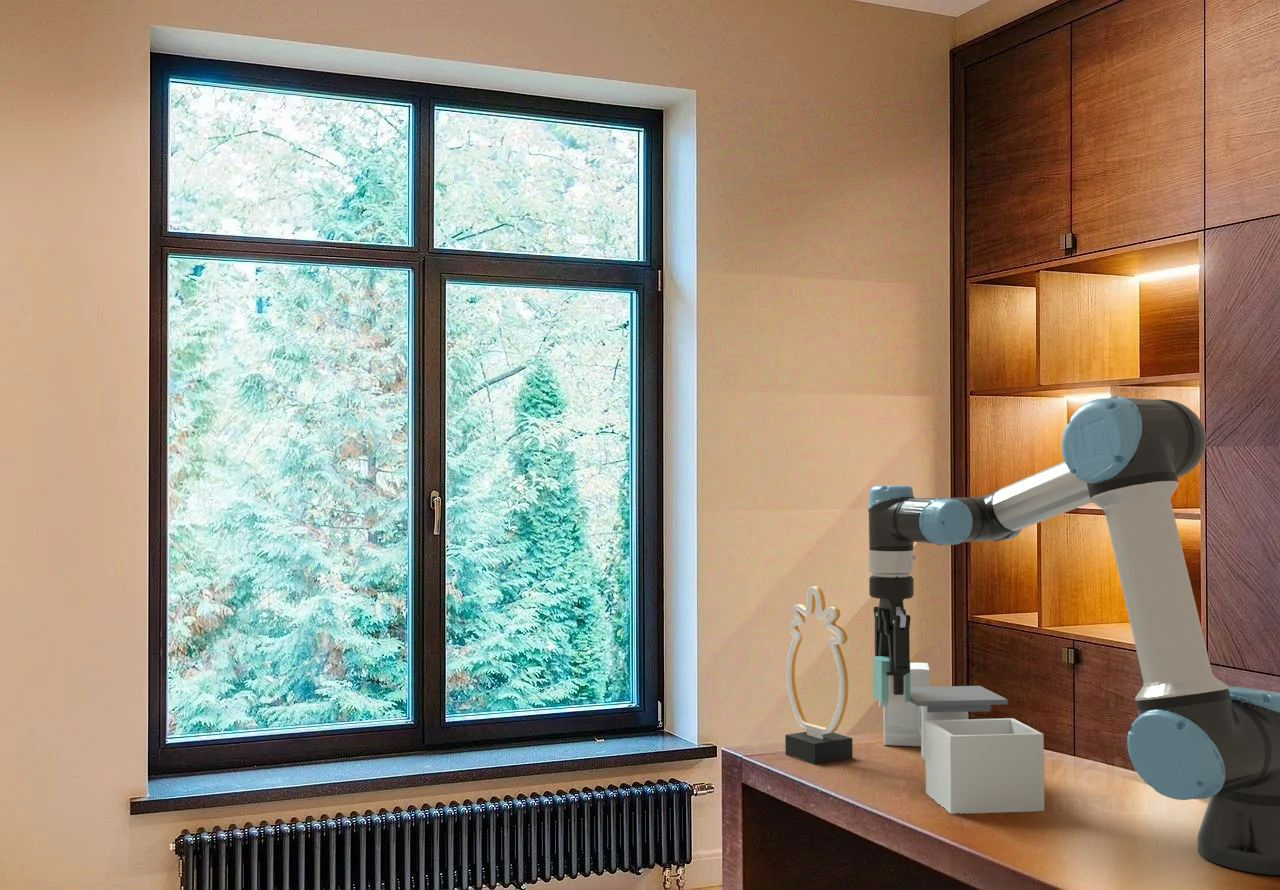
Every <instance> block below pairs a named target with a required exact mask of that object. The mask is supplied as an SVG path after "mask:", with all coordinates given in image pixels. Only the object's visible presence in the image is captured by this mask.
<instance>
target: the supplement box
mask: <svg viewBox="0 0 1280 890" xmlns="http://www.w3.org/2000/svg"><path fill="white" fill-rule="evenodd" d="M910 687H931V670H930V666H929V663H928V662H910ZM918 709H919V706H916V705H915V704H913V703H912V702H905V714H889V711H888V707H883V744H884V746H896V747H897V746H899V747H903V746H904V747H920V748H921V735H920V732H919V729H918Z"/></svg>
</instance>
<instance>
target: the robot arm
mask: <svg viewBox="0 0 1280 890" xmlns="http://www.w3.org/2000/svg"><path fill="white" fill-rule="evenodd" d="M1206 448H1207V434H1206V429H1205V426H1204V424H1203V423H1202V421H1201V419H1200V418H1199V416H1198V415H1197V414H1196V413H1195V412H1194V411H1193V410H1192V409H1191V408H1189V407H1188V406H1186V405H1184V404H1182V403H1181V402H1177V401H1175V400H1171V399H1157V398H1155V399H1151V398H1150V399H1149V398H1132V397H1131V398H1129V397H1128V398H1127V397H1124V396H1112V397H1109V398H1106V397H1105V398H1098V399H1093V400H1091V401H1088V402H1086V403H1084V404H1083V405H1081V406H1080V407H1079V408H1078V409H1077V410H1075V411H1074V413H1073V414H1072V415H1071V416H1070V419H1069V422H1068V423H1067V424H1066V425H1065V428H1064V431H1063V435H1062V440H1061V453H1062V457H1063V458H1062V459H1063V460H1064V461H1062V462H1059V463H1058V464H1055V465H1052V466H1051V467H1048V468H1046V469H1044V470H1041V471H1039V472H1037V473H1034V474H1031V475H1029V476H1028V477H1025V478H1023V479H1020V480H1018V481H1016V482H1013V483H1011V484H1009V485H1006V486H1004V487H1002V488H999V489H998V490H995V491H994V492H991V493H988V494H986V495H983V496H976V497H975V496H974V497H972V496H969V497H968V496H967V497H937V498H935V497H932V498H931V497H915V496H914V489H913V487H912V486H911V485H910V486H909V485H897V484H896V485H894V484H893V485H889V484H888V485H874V486H873V487H871V489H870V490H869V498H868V501H869V502H868V507H867V512H868V538H869V539H868V543H869V545H868V547H869V548H868V571H869V573H871V574H872V575H870V576H869V579H868V582H869V583H868V584H869V585H868V590H869V591H868V595H869V596H870V597H871V598H874V599H879V602H878V603H879V604H878V606H874V607H873V616H874V656H889V660H890V672H886V674H887V676H888V702H881V701H879V700H878V707H879V708H884V707H888V711H889V714H905V675H906V673H909V672H910V663H911V660H910V659H911V658H910V654H911V653H910V646H911V644H910V627H911V616H910V614H907V613H906V612H907V610H906V609H905V605H904V601H905V599H906V600H908V599H912V598H913V597H914V595H915V593H914V591H915V590H914V582H915V581H914V580H915V579H914V577H913V576H912V575H910V574H912V573H913V572H914V561H916V559H917V556H916V555H915V554H914V543H915V542H916V543H921V544H922V543H925V544H934V545H937V546H951V545H952V546H954V545H959V544H961V543H970V542H972V543H973V542H1001V541H1002V542H1003V541H1005V540H1011V539H1014V538H1015V537H1017V536H1018V535H1019V534H1020V533H1021V531H1022V530H1023V529H1026V528H1027V527H1028V528H1029V527H1030V526H1033V525H1036V524H1038V523H1041V522H1044V521H1047V520H1050V519H1052V518H1054V517H1057V516H1060V515H1063V514H1065V513H1068V512H1069V511H1072V510H1075V509H1079V508H1081V507H1084V506H1086V505H1089V504H1094V505H1096V506H1097V507H1099V508H1100V509H1102V511H1104V514H1105V518H1106V522H1107V526H1108V527H1107V528H1108V531H1109V536H1110V540H1111V544H1112V549H1113V553H1114V557H1115V563H1116V567H1117V570H1118V575H1119V580H1120V584H1121V587H1122V588H1121V589H1122V592H1123V593H1122V594H1123V597H1124V602H1125V606H1126V610H1127V614H1128V620H1129V623H1130V628H1131V631H1132V636H1133V640H1134V645H1135V648H1136V654H1137V655H1136V656H1137V658H1138V662H1139V667H1140V672H1141V677H1142V680H1143V685H1142V687H1141V688H1140V690H1139V691H1138V693H1137V695H1136V696H1135V703H1136V708H1137V713H1138V717H1137V718H1135V720H1134V721H1132V724H1131V729H1130V730H1129V731H1128V732H1127V737H1126V738H1127V740H1126V741H1127V750H1128V751H1127V753H1128V755H1129V758H1130V762H1131V763H1132V765H1133V768H1134V769H1135V771H1136V773H1137V774H1138V775H1139V777H1140V778H1141V780H1143V781H1144V783H1145V784H1147V785H1149V787H1151V788H1152V789H1154V791H1155V792H1157V793H1158V794H1160V795H1162V796H1164V797H1166V798H1170V799H1173V800H1179V801H1188V800H1205V799H1209V798H1210V799H1209V800H1208V804H1207V807H1206V809H1205V812H1204V816H1203V818H1202V821H1201V824H1200V828H1199V831H1198V832H1197V852H1198V854H1199V855H1200V856H1201V857H1203V858H1204V859H1206V860H1207V861H1209V862H1211V863H1214V864H1215V865H1219V866H1222V867H1226V868H1230V869H1233V870H1236V871H1237V870H1238V871H1242V872H1248V873H1252V874H1253V873H1254V874H1261V875H1270V876H1280V692H1278V691H1277V692H1276V691H1271V690H1265V689H1264V690H1263V689H1257V688H1256V689H1255V688H1249V687H1241V686H1230V685H1227V684H1225V683H1224V682H1223V681H1221V680H1219V678H1217V677H1216V676H1215V675H1214V674H1213V673H1212V667H1211V662H1210V658H1209V655H1208V650H1207V646H1206V643H1205V638H1204V634H1203V630H1202V626H1201V625H1202V624H1201V621H1200V617H1199V613H1198V608H1197V605H1196V600H1195V596H1194V593H1193V588H1192V582H1191V579H1190V576H1189V571H1188V567H1187V564H1186V559H1185V556H1184V554H1185V553H1184V550H1183V545H1182V541H1181V537H1180V534H1179V529H1178V526H1177V522H1176V518H1175V514H1174V510H1173V505H1172V501H1171V498H1172V496H1173V495H1174V493H1175V492H1176V490H1177V489H1178V488H1179V486H1180V482H1179V478H1182V477H1184V476H1186V475H1188V474H1190V473H1191V472H1192V471H1194V469H1196V467H1198V465H1199V464H1200V462H1201V461H1202V459H1203V457H1204V454H1205V451H1206Z"/></svg>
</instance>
